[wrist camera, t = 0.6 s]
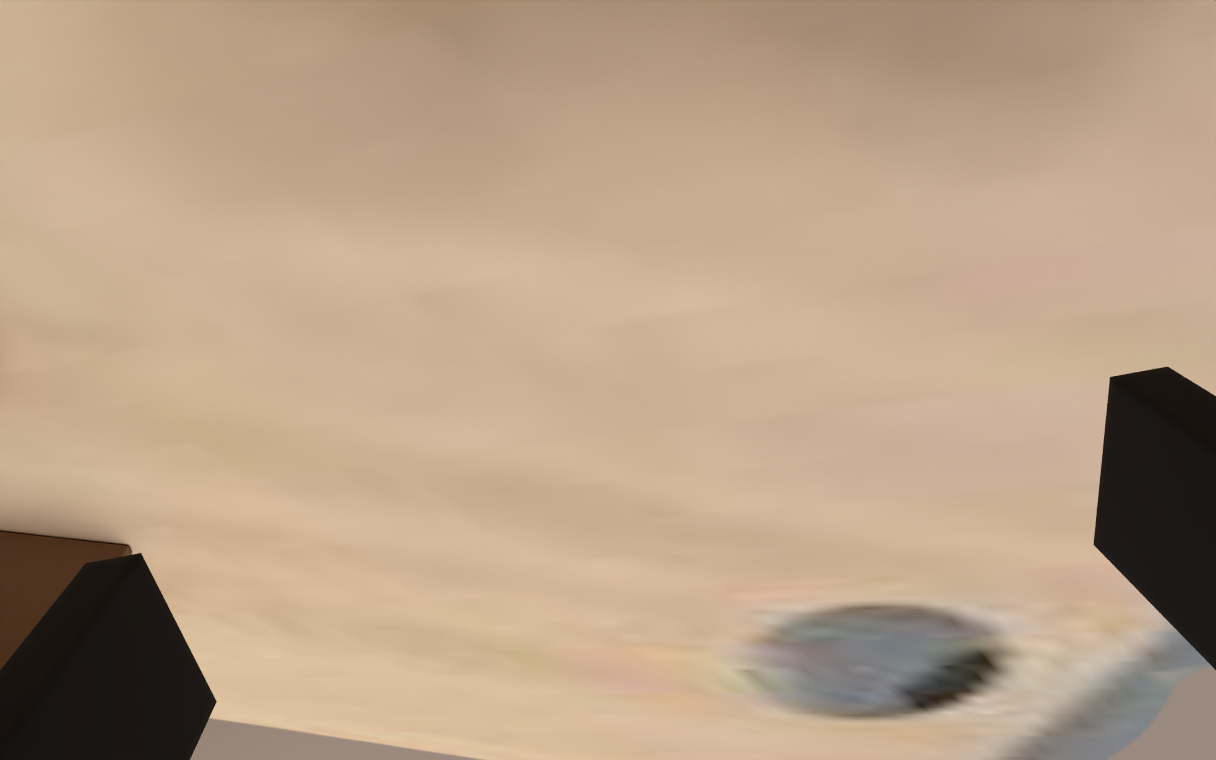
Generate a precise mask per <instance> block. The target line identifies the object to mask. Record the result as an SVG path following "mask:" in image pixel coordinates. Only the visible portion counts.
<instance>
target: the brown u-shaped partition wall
mask: <svg viewBox="0 0 1216 760" xmlns="http://www.w3.org/2000/svg"><path fill="white" fill-rule="evenodd" d="M128 555H132V553H131V551H130V549H129V547H128V546H124V545H115V544H106V543H97V542H88V541H79V540H70V539H61V538H52V537H44V536H35V535H26V534H17V533H8V532H0V670H1V669H2V667H3V666H4V665H5V664H6V662H7V661H8V660H9V658H10V657H11V656H12V655H13V653H14V652H15V651H16V650H17V648H18V647H19V646H20V645H21V643H22V642H23V641H24V640H25V638H26V637H27V636H28V635H29V633H30V632H31V631H32V630H33V628H34V627H35V626H36V625H37V623H38V622H39V621H40V620H41V618H42V617H43V616H44V615H45V613H46V612H47V611H48V610H49V608H50V607H51V606H52V605H53V603H54V602H55V601H56V600H57V598H58V597H59V596H60V595H61V593H62V592H63V591H64V590H65V588H66V587H67V586H68V585H69V583H70V582H71V581H72V580H73V578H74V577H75V576H76V575H77V573H78V572H79V571H80V570H81V568H82V567H83V566H84V564H85V563H90V562H95V561H101V560H106V559H112V558H117V557H123V556H128Z"/></svg>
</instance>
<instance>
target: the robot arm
mask: <svg viewBox="0 0 1216 760" xmlns="http://www.w3.org/2000/svg"><path fill="white" fill-rule="evenodd" d="M1094 546H1095V547H1096V548H1097V549H1098V550H1099V551H1100V552H1101V553H1102V554H1103V555H1104V556H1105V557H1106V558H1107V559H1108V560H1109V561H1110V562H1111V563H1112V564H1113V565H1114V566H1115V567H1116V568H1117V569H1118V570H1119V571H1120V572H1121V573H1122V574H1123V575H1124V576H1125V577H1126V578H1127V579H1128V580H1129V581H1130V583H1131V584H1132V585H1133V586H1134V587H1135V588H1136V589H1137V590H1138V591H1139V592H1140V593H1141V594H1142V595H1143V596H1144V597H1145V598H1146V599H1147V600H1148V601H1149V602H1150V603H1151V604H1152V605H1153V606H1154V607H1155V608H1156V609H1157V610H1158V611H1159V612H1160V613H1161V614H1162V615H1163V616H1164V617H1165V618H1166V619H1167V620H1168V622H1169V623H1170V624H1171V625H1172V626H1173V627H1174V628H1175V629H1176V630H1177V631H1178V632H1179V633H1180V634H1181V635H1182V636H1183V637H1184V638H1185V639H1186V640H1187V641H1188V642H1189V643H1190V644H1191V645H1192V646H1193V647H1194V648H1195V649H1196V650H1197V651H1198V652H1199V653H1200V654H1201V655H1202V656H1203V657H1204V658H1205V659H1206V661H1207V662H1208V663H1209V664H1210V665H1211V666H1212V667H1213V668H1214V669H1215V670H1216V396H1214V395H1213V394H1211V393H1210V392H1208V391H1206V390H1205V389H1203V388H1201V387H1200V386H1198V385H1197V384H1195V383H1193V382H1192V381H1190V380H1188V379H1187V378H1185V377H1184V376H1182V375H1180V374H1179V373H1177V372H1175V371H1174V370H1172V369H1171V368H1169V367H1163V368H1158V369H1152V370H1147V371H1141V372H1136V373H1130V374H1124V375H1119V376H1113V377H1110V383H1109V394H1108V404H1107V414H1106V424H1105V434H1104V444H1103V455H1102V465H1101V475H1100V485H1099V495H1098V506H1097V516H1096V526H1095V536H1094ZM215 704H216V700H215V698H214V696H213V694H212V692H211V690H210V688H209V686H208V684H207V682H206V680H205V678H204V676H203V674H202V672H201V670H200V668H199V666H198V664H197V662H196V660H195V658H194V656H193V654H192V652H191V650H190V648H189V646H188V645H187V643H186V641H185V639H184V637H183V635H182V633H181V631H180V629H179V627H178V625H177V623H176V621H175V619H174V617H173V615H172V613H171V611H170V609H169V607H168V605H167V603H166V601H165V599H164V597H163V595H162V593H161V591H160V590H159V588H158V586H157V584H156V582H155V580H154V578H153V576H152V574H151V572H150V570H149V568H148V566H147V564H146V562H145V560H144V558H143V556H142V554H141V553H139V554H134V555H128V556H123V557H117V558H112V559H106V560H101V561H95V562H90V563H85V564H84V566H83V567H82V568H81V570H80V571H79V572H78V573H77V575H76V576H75V577H74V578H73V580H72V581H71V582H70V583H69V585H68V586H67V587H66V588H65V590H64V591H63V592H62V593H61V595H60V596H59V597H58V598H57V600H56V601H55V602H54V603H53V605H52V606H51V607H50V608H49V610H48V611H47V612H46V613H45V615H44V616H43V617H42V618H41V620H40V621H39V622H38V623H37V625H36V626H35V627H34V628H33V630H32V631H31V632H30V633H29V635H28V636H27V637H26V638H25V640H24V641H23V642H22V643H21V645H20V646H19V647H18V648H17V650H16V651H15V652H14V653H13V655H12V656H11V657H10V658H9V660H8V661H7V662H6V664H5V665H4V666H3V667H2V669H1V670H0V760H190V758H191V756H192V754H193V751H194V750H195V747H196V745H197V743H198V741H199V739H200V737H201V734H202V732H203V730H204V728H205V726H206V723H207V721H208V719H209V717H210V715H211V713H212V711H213V708H214V706H215Z"/></svg>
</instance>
